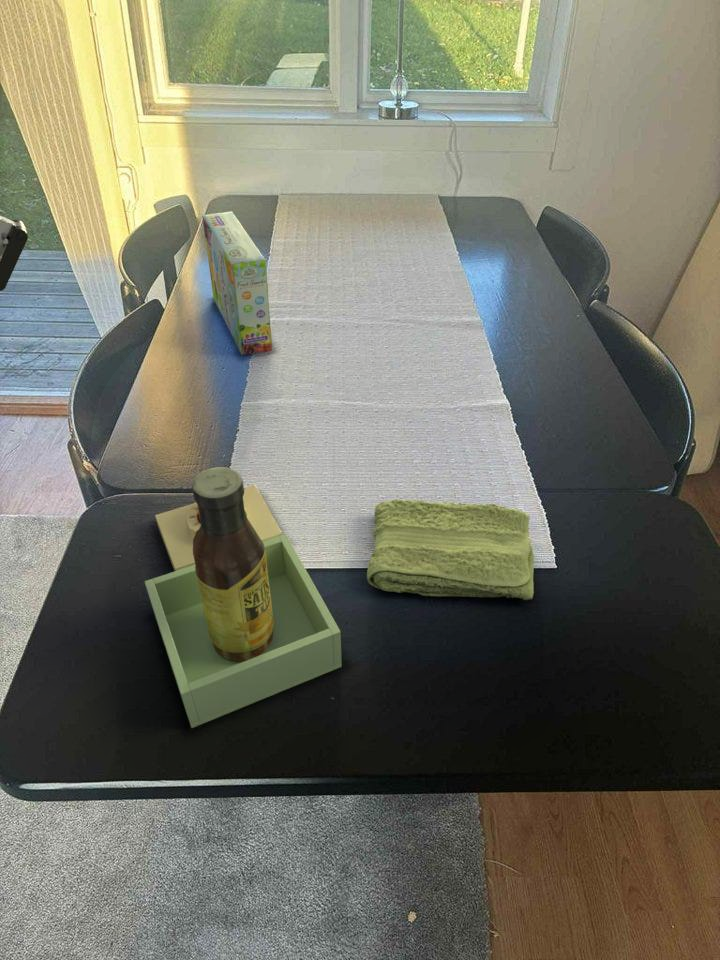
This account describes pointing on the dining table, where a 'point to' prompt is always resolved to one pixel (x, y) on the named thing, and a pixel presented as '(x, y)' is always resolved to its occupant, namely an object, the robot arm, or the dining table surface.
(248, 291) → the snack box
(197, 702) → the sage green tray
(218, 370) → the dining table surface
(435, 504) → the washcloth
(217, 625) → the sauce bottle
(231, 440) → the dining table surface
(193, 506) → the panel
